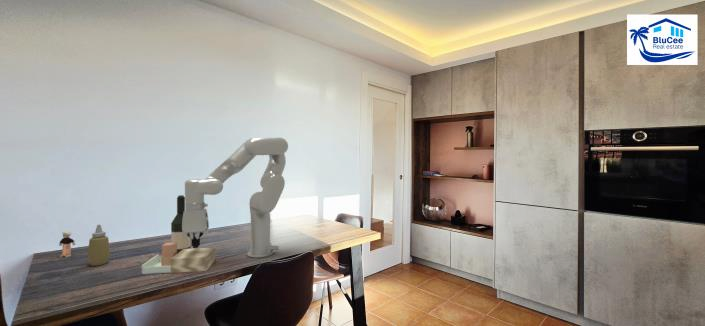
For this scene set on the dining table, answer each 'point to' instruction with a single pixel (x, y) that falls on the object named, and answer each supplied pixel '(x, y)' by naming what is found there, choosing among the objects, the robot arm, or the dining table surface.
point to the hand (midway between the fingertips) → (196, 247)
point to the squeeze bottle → (98, 248)
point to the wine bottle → (179, 227)
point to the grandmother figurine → (66, 244)
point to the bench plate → (193, 260)
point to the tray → (155, 266)
